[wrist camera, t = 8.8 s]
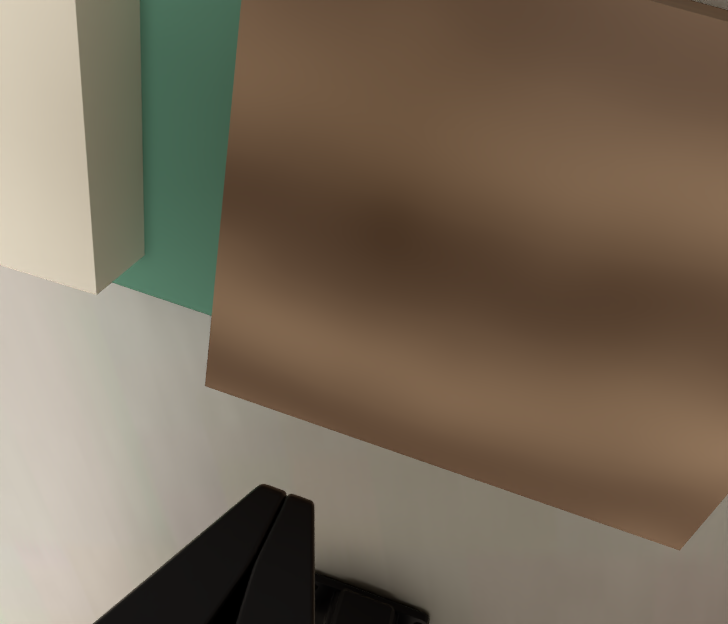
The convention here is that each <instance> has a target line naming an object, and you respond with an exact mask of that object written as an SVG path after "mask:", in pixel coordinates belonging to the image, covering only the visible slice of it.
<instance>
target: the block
mask: <svg viewBox="0 0 728 624" xmlns="http://www.w3.org/2000/svg"><path fill="white" fill-rule="evenodd" d="M144 255H145V253H144V201H143V149H142V97H141V45H140V0H0V265H1V266H4V267H8V268H11V269H14V270H17V271H21V272H24V273H27V274H30V275H33V276H37V277H40V278H43V279H46V280H50V281H53V282H56V283H59V284H63V285H66V286H69V287H72V288H76V289H79V290H82V291H85V292H88V293H92V294H95V295H97V294H98V293H100V292H101V291H102V290H103V289H104V288H106V287H107V286H108V285H109V284H110V283H112V282H113V281H114V280H115V279H116V278H118V277H119V276H120V275H121V274H122V273H124V272H125V271H126V270H127V269H128V268H130V267H131V266H132V265H133V264H134V263H136V262H137V261H138V260H139V259H140V258H142V257H143V256H144Z"/></svg>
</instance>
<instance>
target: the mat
mask: <svg viewBox="0 0 728 624" xmlns="http://www.w3.org/2000/svg"><path fill="white" fill-rule="evenodd" d="M240 9H241V0H140V45H141V97H142V149H143V201H144V253H145V255H144V256H143V257H142V258H140V259H139V260H138V261H137V262H136V263H134V264H133V265H132V266H131V267H130V268H128V269H127V270H126V271H125V272H124V273H122V274H121V275H120V276H119V277H118V278H116V279H115V280H114V281H113V282H112V283H115V284H118V285H121V286H124V287H127V288H130V289H133V290H136V291H139V292H142V293H145V294H148V295H151V296H154V297H157V298H160V299H163V300H166V301H169V302H172V303H175V304H178V305H181V306H184V307H187V308H190V309H193V310H196V311H199V312H202V313H205V314H208V315H211V316H212V307H213V297H214V286H215V275H216V265H217V254H218V243H219V233H220V222H221V211H222V201H223V190H224V180H225V169H226V158H227V148H228V137H229V126H230V116H231V105H232V95H233V84H234V73H235V63H236V52H237V41H238V31H239V20H240Z"/></svg>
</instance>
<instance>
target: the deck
mask: <svg viewBox="0 0 728 624" xmlns="http://www.w3.org/2000/svg"><path fill="white" fill-rule="evenodd" d="M205 386H207V387H209V388H212V389H215V390H218V391H221V392H224V393H227V394H230V395H233V396H235V397H238V398H241V399H244V400H247V401H250V402H253V403H256V404H259V405H261V406H264V407H267V408H270V409H273V410H276V411H279V412H282V413H285V414H287V415H290V416H293V417H296V418H299V419H302V420H305V421H308V422H311V423H313V424H316V425H319V426H322V427H325V428H328V429H331V430H334V431H337V432H339V433H342V434H345V435H348V436H351V437H354V438H357V439H360V440H362V441H365V442H368V443H371V444H374V445H377V446H380V447H383V448H386V449H388V450H391V451H394V452H397V453H400V454H403V455H406V456H409V457H412V458H414V459H417V460H420V461H423V462H426V463H429V464H432V465H435V466H438V467H440V468H443V469H446V470H449V471H452V472H455V473H458V474H461V475H464V476H466V477H469V478H472V479H475V480H478V481H481V482H484V483H487V484H490V485H492V486H495V487H498V488H501V489H504V490H507V491H510V492H513V493H516V494H518V495H521V496H524V497H527V498H530V499H533V500H536V501H539V502H542V503H544V504H547V505H550V506H553V507H556V508H559V509H562V510H565V511H568V512H570V513H573V514H576V515H579V516H582V517H585V518H588V519H591V520H593V521H596V522H599V523H602V524H605V525H608V526H611V527H614V528H617V529H619V530H622V531H625V532H628V533H631V534H634V535H637V536H640V537H643V538H645V539H648V540H651V541H654V542H657V543H660V544H663V545H666V546H669V547H671V548H674V549H677V550H680V549H681V548H682V547H683V546H684V545H685V543H686V542H687V541H688V540H689V539H690V538H691V536H692V535H693V534H694V533H695V532H696V531H697V529H698V528H699V527H700V526H701V525H702V523H703V522H704V521H705V520H706V519H707V518H708V516H709V515H710V514H711V513H712V512H713V511H714V509H715V508H716V507H717V506H718V505H719V504H720V502H721V501H722V500H723V499H724V498H725V497H726V495H727V494H728V10H725V9H721V8H717V7H714V6H710V5H706V4H703V3H699V2H695V1H692V0H241V9H240V20H239V31H238V41H237V52H236V63H235V73H234V84H233V95H232V105H231V116H230V126H229V137H228V148H227V158H226V169H225V180H224V190H223V201H222V211H221V222H220V233H219V243H218V254H217V265H216V275H215V286H214V297H213V307H212V318H211V328H210V339H209V350H208V360H207V371H206V382H205Z"/></svg>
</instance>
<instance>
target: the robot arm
mask: <svg viewBox="0 0 728 624" xmlns="http://www.w3.org/2000/svg"><path fill="white" fill-rule="evenodd" d="M429 620H430V619H429V617H428V616H427V615H426V614H425V613H423V612H420V611H417V610H415V609H412V608H409V607H406V606H404V605H401V604H398V603H396V602H393V601H390V600H387V599H385V598H382V597H379V596H376V595H374V594H371V593H368V592H366V591H363V590H360V589H357V588H355V587H352V586H349V585H347V584H344V583H341V582H338V581H336V580H333V579H330V578H327V577H325V576H322V575H319V574H316V573H315V544H314V503H313V502H312V501H311V500H308V499H306V498H303V497H300V496H297V495H294V494H289V495H288V496H287V495H286V492H285V491H283V490H280V489H278V488H275V487H272V486H269V485H266V484H261V485H259V486H257V487H256V488H255V489H253V490H252V491H251V492H250V493H249V494H247V495H246V496H245V497H244V498H243V499H241V500H240V501H239V502H238V503H237V504H235V505H234V506H233V507H232V508H231V509H230V510H228V511H227V512H226V513H225V514H224V515H222V516H221V517H220V518H219V519H218V520H216V521H215V522H214V523H213V524H212V525H210V526H209V527H208V528H207V529H206V530H204V531H203V532H202V533H201V534H200V535H198V536H197V537H196V538H195V539H194V540H192V541H191V542H190V543H189V544H188V545H186V546H185V547H184V548H183V549H182V550H180V551H179V552H178V553H177V554H176V555H174V556H173V557H172V558H171V559H170V560H168V561H167V562H166V563H165V564H164V565H163V566H161V567H160V568H159V569H158V570H157V571H155V572H154V573H153V574H152V575H151V576H149V577H148V578H147V579H146V580H145V581H143V582H142V583H141V584H140V585H139V586H137V587H136V588H135V589H134V590H133V591H131V592H130V593H129V594H128V595H127V596H125V597H124V598H123V599H122V600H121V601H119V602H118V603H117V604H116V605H115V606H113V607H112V608H111V609H110V610H109V611H107V612H106V613H105V614H104V615H103V616H101V617H100V618H99V619H98V620H97V621H96V622H94V623H93V624H429Z"/></svg>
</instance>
